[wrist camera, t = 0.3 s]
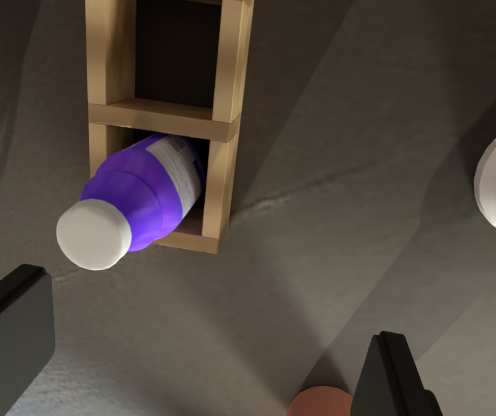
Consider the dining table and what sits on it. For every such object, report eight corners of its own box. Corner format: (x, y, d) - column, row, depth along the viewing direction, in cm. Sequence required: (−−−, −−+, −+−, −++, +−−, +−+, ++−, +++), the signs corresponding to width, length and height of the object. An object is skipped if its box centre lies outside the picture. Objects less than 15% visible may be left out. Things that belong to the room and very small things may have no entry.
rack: (119, -28, 33) (83, -44, 28) (255, -11, 33) (246, -24, 27) (119, 209, 42) (91, 233, 36) (228, 226, 41) (216, 254, 35)
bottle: (133, 141, 39) (14, 205, 23) (183, 117, 37) (95, 166, 21) (169, 206, 41) (83, 307, 25) (218, 185, 39) (162, 278, 23)
